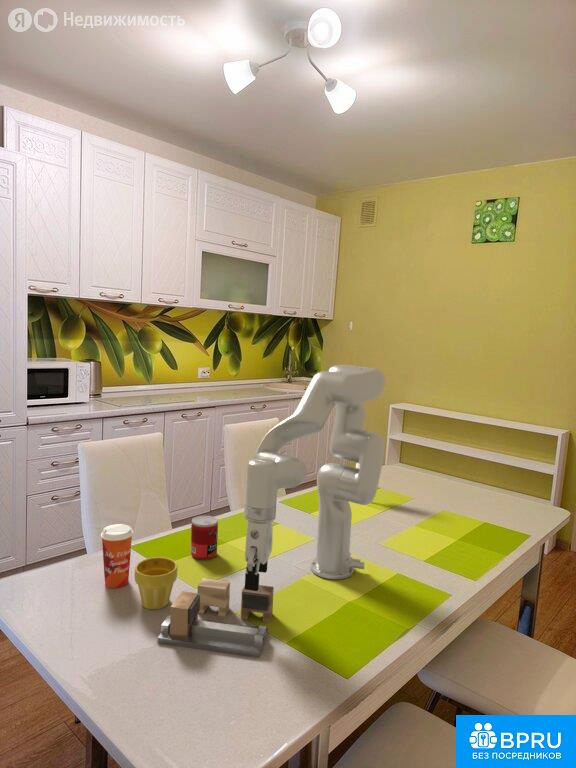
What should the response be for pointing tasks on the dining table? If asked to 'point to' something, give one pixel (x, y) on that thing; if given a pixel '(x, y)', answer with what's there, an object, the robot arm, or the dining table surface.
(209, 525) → the canned food
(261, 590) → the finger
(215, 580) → the tan notched block
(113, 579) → the coffee cup
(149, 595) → the plant pot
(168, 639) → the rail
